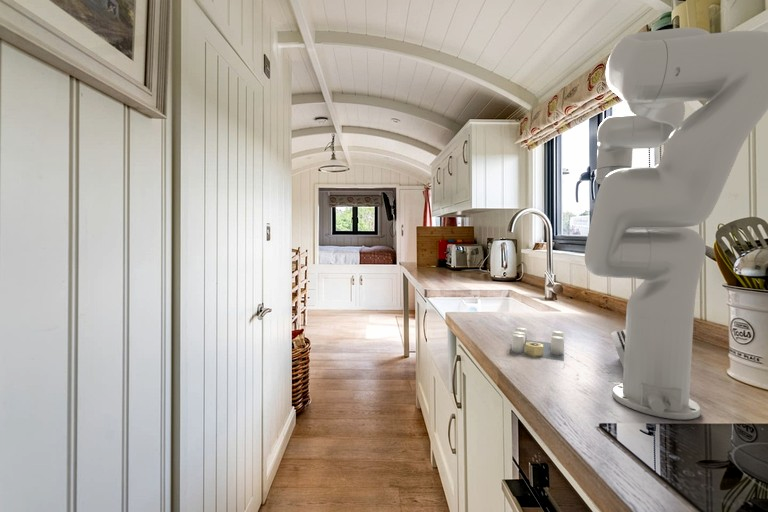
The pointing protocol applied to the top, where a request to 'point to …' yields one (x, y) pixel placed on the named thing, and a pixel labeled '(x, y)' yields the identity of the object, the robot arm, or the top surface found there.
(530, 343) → the nut
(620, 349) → the hinge
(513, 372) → the top surface
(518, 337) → the spacers
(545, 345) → the mat
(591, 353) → the top surface
